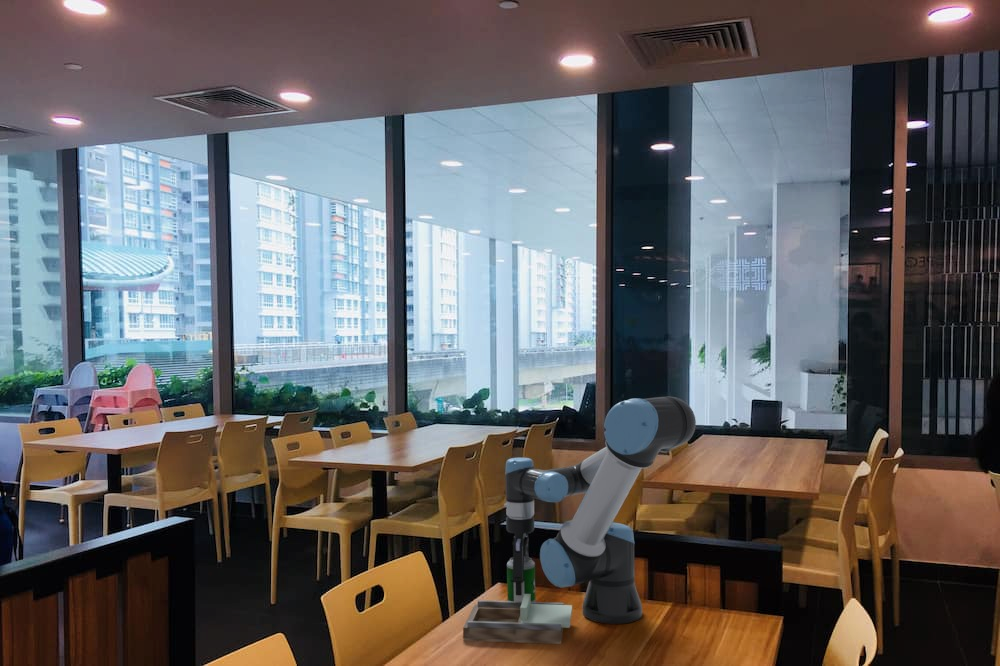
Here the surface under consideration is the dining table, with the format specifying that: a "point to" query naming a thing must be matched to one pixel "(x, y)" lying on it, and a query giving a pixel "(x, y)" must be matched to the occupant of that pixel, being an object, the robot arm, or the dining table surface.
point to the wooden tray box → (508, 624)
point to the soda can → (528, 578)
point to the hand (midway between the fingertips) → (521, 599)
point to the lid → (545, 613)
